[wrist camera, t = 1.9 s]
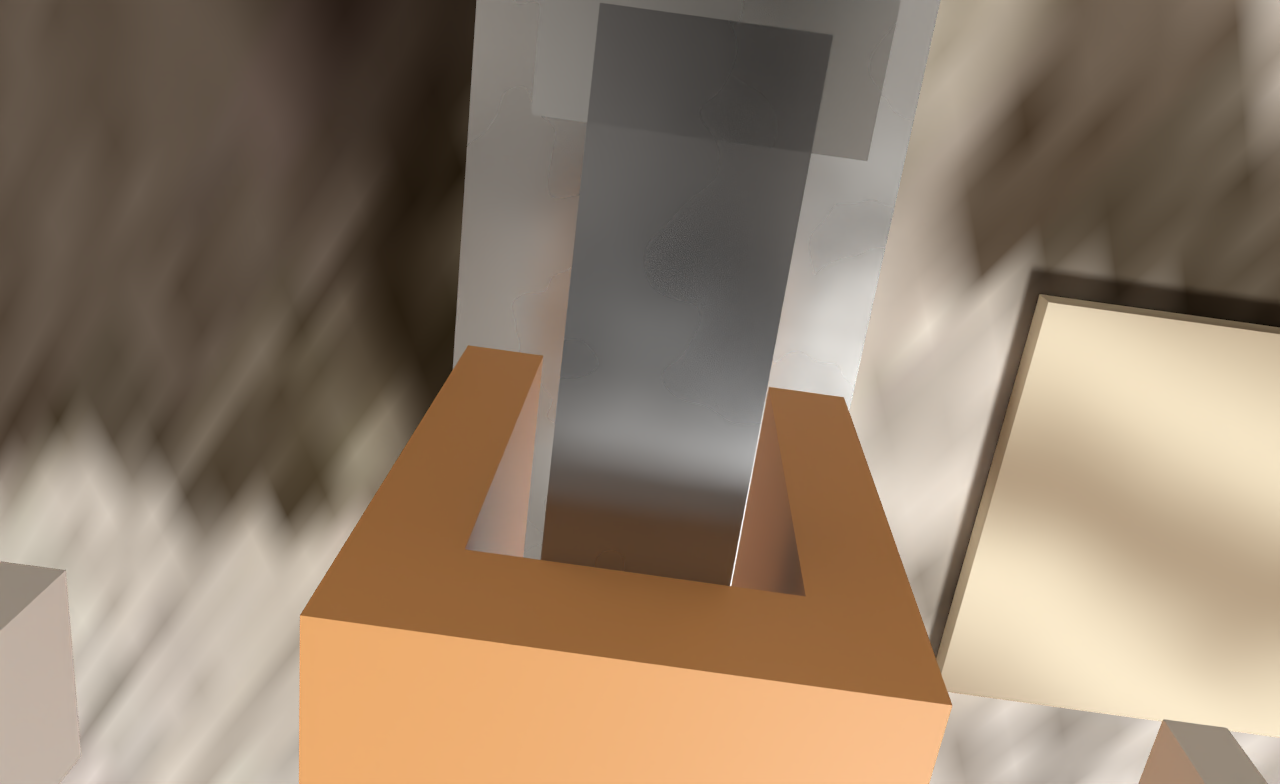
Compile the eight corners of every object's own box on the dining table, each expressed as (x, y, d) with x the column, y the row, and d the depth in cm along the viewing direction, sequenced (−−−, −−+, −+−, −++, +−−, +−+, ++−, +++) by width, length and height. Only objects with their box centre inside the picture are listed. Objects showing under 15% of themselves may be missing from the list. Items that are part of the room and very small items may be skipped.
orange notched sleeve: (468, 345, 16) (299, 615, 9) (844, 397, 16) (952, 705, 9) (449, 611, 18) (297, 999, 11) (786, 657, 18) (842, 1075, 11)
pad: (1039, 294, 22) (1048, 302, 22) (1501, 357, 22) (1521, 368, 22) (931, 675, 26) (936, 690, 25) (1327, 729, 26) (1340, 746, 25)
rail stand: (511, -146, 20) (245, -324, 8) (930, -88, 20) (1268, -182, 8) (449, 706, 27) (264, 1250, 16) (752, 748, 27) (795, 1323, 16)
